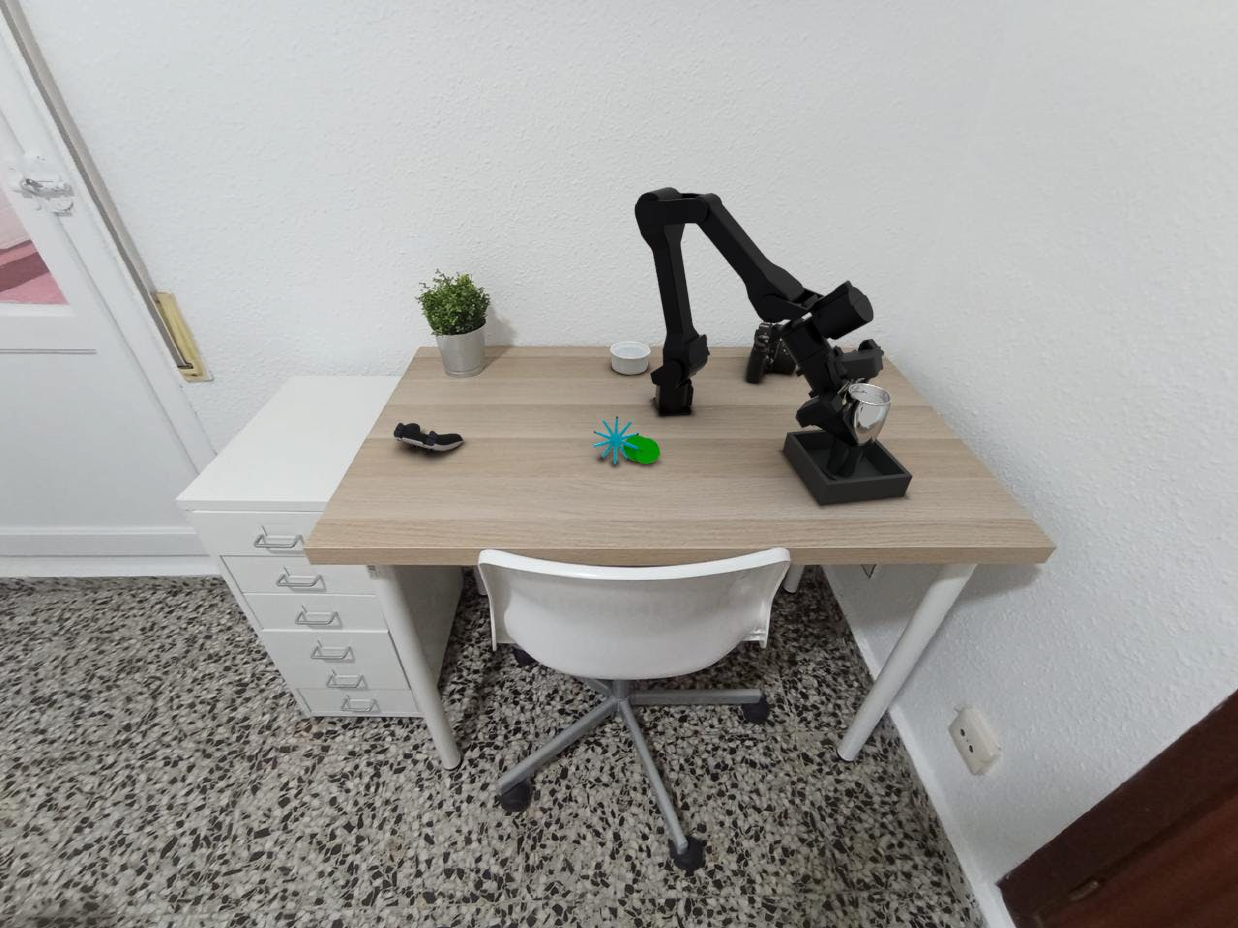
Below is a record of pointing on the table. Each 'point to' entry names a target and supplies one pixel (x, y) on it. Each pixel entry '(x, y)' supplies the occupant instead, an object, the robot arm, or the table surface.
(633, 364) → the ramekin
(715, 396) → the table surface
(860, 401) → the metal tumbler
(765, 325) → the film camera
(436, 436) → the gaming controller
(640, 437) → the stick construction toy
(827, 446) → the bin
